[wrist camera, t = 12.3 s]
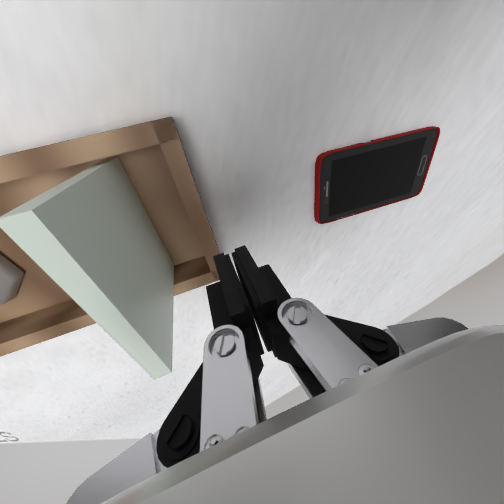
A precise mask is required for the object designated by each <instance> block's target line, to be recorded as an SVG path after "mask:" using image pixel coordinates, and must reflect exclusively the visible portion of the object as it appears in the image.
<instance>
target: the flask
mask: <svg viewBox="0 0 504 504" xmlns="http://www.w3.org/2000/svg"><path fill="white" fill-rule="evenodd" d="M23 275H24V272H23V271H21V270H20V269H19V268H17V267H16V266H15V265H14V264H12V263H11V262H10V261H9V260H7V259H6V258H5V257H3V256H2V255H1V254H0V305H2V304H4V303H6V302H8V301H10V300H12V299H14V298H15V297H16V294H17V292H18V289H19V286H20V283H21V280H22V277H23Z"/></svg>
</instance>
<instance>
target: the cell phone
mask: <svg viewBox="0 0 504 504" xmlns="http://www.w3.org/2000/svg"><path fill="white" fill-rule="evenodd" d="M439 134H440V128H439V127H426V128H422V129H417V130H413V131H409V132H405V133H401V134H397V135H392V136H388V137H384V138H380V139H376V140H372V141H371V142H369V143H359V144H355V145H351V146H347V147H343V148H339V149H335V150H331V151H327V152H324V153H322V154H320V155H319V156H318V157H317V159H316V163H315V199H314V217H315V221H316V222H317V223H319V224H324V223H329V222H332V221H336V220H339V219H342V218H346V217H349V216H352V215H356V214H359V213H362V212H366V211H369V210H372V209H376V208H379V207H382V206H386V205H389V204H392V203H396V202H399V201H402V200H405V199H409V198H412V197H414V196H417V195H418V194H419V193H420V192H421V190H422V188H423V185H424V182H425V179H426V176H427V173H428V170H429V167H430V164H431V160H432V157H433V154H434V151H435V148H436V145H437V141H438V138H439ZM351 214H352V215H351ZM348 215H349V216H348ZM345 216H346V217H345ZM341 217H342V218H341ZM338 218H339V219H338Z"/></svg>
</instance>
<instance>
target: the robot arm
mask: <svg viewBox="0 0 504 504" xmlns="http://www.w3.org/2000/svg"><path fill="white" fill-rule="evenodd" d="M232 257H233V260H234V263H235V266H236V270H237V273H238V276H239V278H238V276H237V274H236V271H235V269H234V266H233V264H232V262H231V259H230V257H229V254H227V255H224V253H221V254H218V255H215V256H213V259H214V262H215V265H216V269H217V272H218V276H219V279H220V282H217V283H214V284H212V285H209V286H206V290H207V295H208V300H209V305H210V311H211V316H212V321H213V326H214V330H213V331H212V332H211V333H210V334H209V335H208V337H207V339H206V341H205V344H204V355H203V363H202V364H201V366H200V367H199V369H198V370H197V372H196V373H195V375H194V376H193V378H192V379H191V381H190V382H189V384H188V386H187V387H186V389H185V390H184V392H183V393H182V395H181V396H180V398H179V399H178V401H177V402H176V404H175V405H174V407H173V409H172V410H171V412H170V413H169V415H168V416H167V418H166V419H165V421H164V423H163V425H162V427H161V428H160V430H158V431H157V432H156V433H154V434H152V433H149V434H148V435H146V436H145V437H144V438H142V439H141V440H140V441H138V442H137V443H135V444H134V445H133V446H131V447H130V448H129V449H127V450H126V451H124V452H123V453H122V454H120V455H119V456H118V457H116V458H115V459H114V460H112V461H111V462H109V463H108V464H107V465H105V466H104V467H102V468H101V469H100V470H98V471H97V472H96V473H94V474H93V475H91V476H90V477H89V478H87V479H86V480H85V481H84V482H83V483H82V484H81V485H80V486H79V487H78V488H77V489H76V490H75V492H74V493H73V495H72V496H71V497H70V498H69V500H68V502H67V504H504V325H494V326H482V327H476V328H471V329H468V328H467V327H465V326H464V325H463V324H461V323H459V322H457V321H454V320H452V319H447V318H432V319H426V320H420V321H415V322H409V323H403V324H397V325H392V326H387V327H386V329H384V330H381V329H378V328H376V327H372V326H368V325H364V324H360V323H356V322H352V321H348V320H344V319H340V318H336V317H332V316H328V315H324V314H323V313H322V312H321V311H320V310H319V309H318V308H317V307H316V306H314V305H313V304H312V303H311V302H310V301H308V300H305V299H303V298H291V297H290V295H289V294H288V292H287V291H286V289H285V288H284V286H283V285H282V283H281V282H280V280H279V279H278V277H277V276H276V274H275V273H274V272H273V270H272V269H271V267H270V266H269V265H268V264H267V265H264V266H261V267H259V268H258V267H257V265H256V263H255V262H254V260H253V258H252V256H251V255H250V253H249V251H248V250H247V248H246V246H242V247H239V248H236V249H235V252H233V253H232ZM239 279H240V281H239ZM255 322H256V324H257V327H258V329H259V332H260V334H261V337H262V339H263V341H264V344H265V346H266V349H267V351H268V352H269V351H273V354H274V356H275V357H277V358H278V359H279V360H281V361H284V362H286V363H287V364H288V366H289V368H290V369H291V371H292V372H293V374H294V375H295V377H296V378H297V380H298V381H299V383H300V384H301V386H302V387H303V389H304V390H305V392H306V394H307V395H308V397H309V398H310V399H309V400H307V401H305V402H303V403H301V404H299V405H297V406H295V407H293V408H291V409H288V410H287V411H284V412H282V413H280V414H278V415H276V416H274V417H272V418H270V419H268V420H267V419H266V413H265V407H264V401H263V396H262V390H261V385H260V380H259V375H260V373H261V371H262V368H263V366H264V365H263V362H262V359H261V356H260V355H262V354H264V351H263V347H262V344H261V341H260V337H259V334H258V330H257V327H256V324H255Z"/></svg>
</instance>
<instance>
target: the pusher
mask: <svg viewBox="0 0 504 504" xmlns="http://www.w3.org/2000/svg"><path fill="white" fill-rule="evenodd" d="M0 228H1V229H2V230H3V231H4V232H5V233H6V234H7V235H8V236H9V237H10V238H11V239H12V240H13V241H14V242H15V243H16V244H17V245H18V246H19V247H20V248H21V249H22V250H23V251H25V252H26V253H27V254H28V255H29V256H30V257H31V258H32V259H33V260H34V261H35V262H36V263H37V264H38V265H39V266H40V267H41V268H42V269H43V270H44V271H45V272H46V273H47V274H48V275H49V276H50V277H51V278H52V279H53V280H54V281H55V282H56V283H57V284H58V285H59V286H60V287H61V288H62V289H63V290H64V291H65V292H66V293H67V294H68V295H69V296H70V297H71V298H72V299H73V300H74V301H75V302H76V303H77V304H78V305H79V306H80V307H81V308H82V309H83V310H84V311H85V312H86V313H87V314H88V315H89V316H90V317H91V318H92V319H93V320H94V321H95V322H96V323H97V324H98V325H99V326H100V327H101V328H102V329H103V330H105V331H106V332H107V333H108V334H109V335H110V336H111V337H112V338H113V339H114V340H115V341H116V342H117V343H118V344H119V345H120V346H121V347H122V348H123V349H124V350H125V351H126V352H127V353H128V354H129V355H130V356H131V357H132V358H133V359H134V360H135V361H136V362H137V363H138V364H139V365H140V366H141V367H142V368H143V369H144V370H145V371H146V372H147V373H148V374H149V375H150V376H151V377H152V378H153V379H157V378H159V377H162V376H164V375H167V374H169V373H172V345H173V295H174V263H173V262H172V260H171V258H170V256H169V254H168V252H167V250H166V248H165V246H164V244H163V242H162V241H161V239H160V237H159V235H158V233H157V231H156V229H155V227H154V225H153V223H152V221H151V220H150V218H149V216H148V214H147V212H146V210H145V208H144V206H143V204H142V202H141V201H140V199H139V197H138V195H137V193H136V191H135V189H134V187H133V185H132V183H131V181H130V180H129V178H128V176H127V174H126V172H125V170H124V168H123V166H122V164H121V162H120V160H119V159H118V157H113V158H109V159H105V160H102V161H100V162H98V163H97V164H95V165H93V166H91V167H89V168H88V169H86V170H84V171H82V172H80V173H79V174H77V175H75V176H73V177H71V178H69V179H68V180H66V181H64V182H62V183H60V184H59V185H57V186H55V187H53V188H51V189H49V190H48V191H46V192H44V193H42V194H40V195H39V196H37V197H35V198H33V199H31V200H30V201H28V202H26V203H24V204H22V205H20V206H19V207H17V208H15V209H13V210H11V211H10V212H8V213H6V214H4V215H2V216H0Z"/></svg>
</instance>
